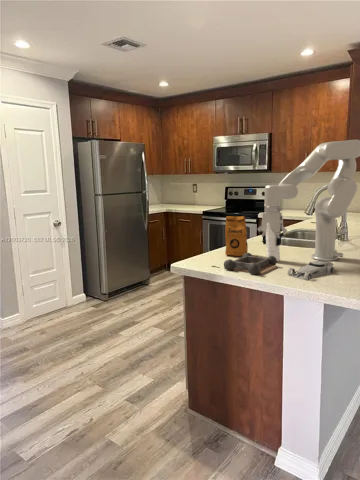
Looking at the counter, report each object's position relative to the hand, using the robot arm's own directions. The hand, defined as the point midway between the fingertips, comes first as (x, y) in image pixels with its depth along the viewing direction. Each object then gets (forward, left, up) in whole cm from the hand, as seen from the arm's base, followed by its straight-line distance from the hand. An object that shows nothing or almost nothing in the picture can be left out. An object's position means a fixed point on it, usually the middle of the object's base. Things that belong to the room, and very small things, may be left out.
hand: (271, 244), depth 179 cm
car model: (-25, +10, -9) cm, 29 cm away
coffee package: (+22, -2, -9) cm, 24 cm away
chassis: (+2, +18, -9) cm, 20 cm away
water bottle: (0, 0, -9) cm, 9 cm away
